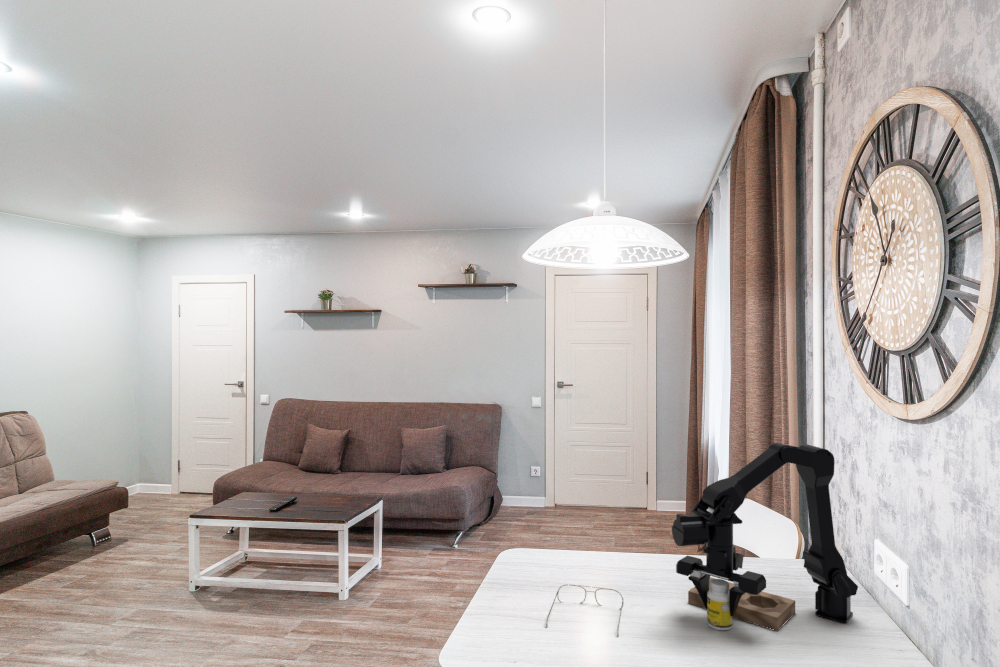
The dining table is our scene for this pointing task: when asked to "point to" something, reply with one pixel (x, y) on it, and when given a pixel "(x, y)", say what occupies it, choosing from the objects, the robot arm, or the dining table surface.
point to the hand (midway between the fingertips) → (719, 612)
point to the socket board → (756, 607)
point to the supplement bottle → (719, 605)
